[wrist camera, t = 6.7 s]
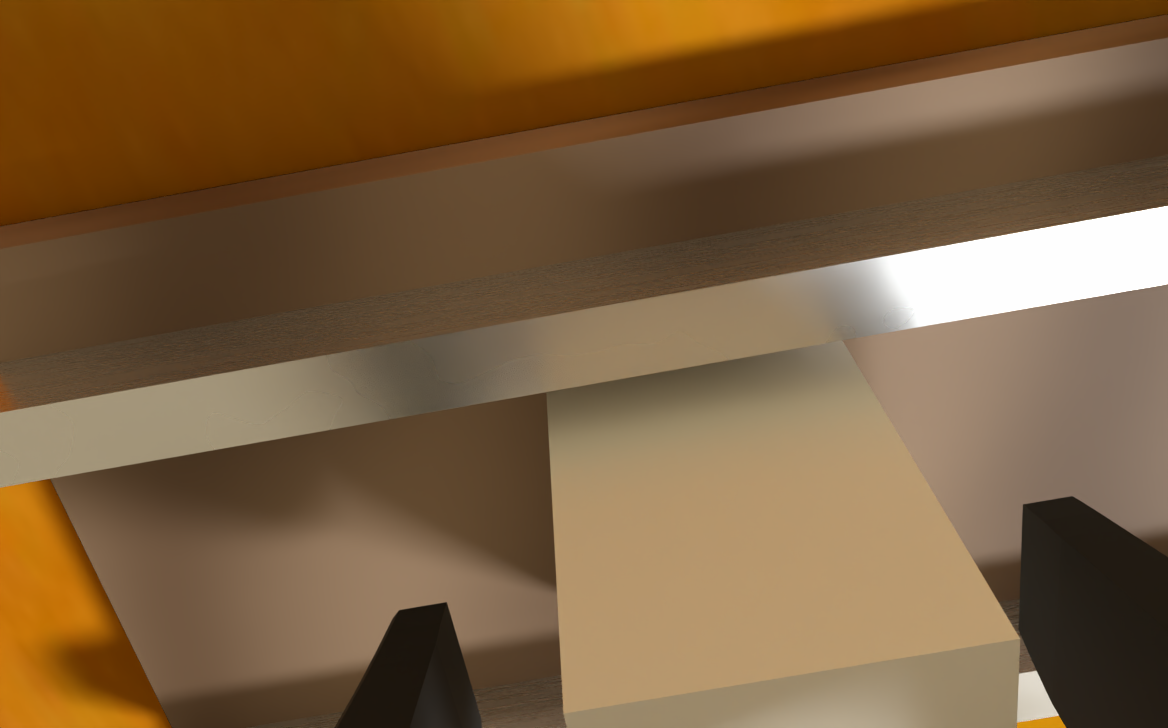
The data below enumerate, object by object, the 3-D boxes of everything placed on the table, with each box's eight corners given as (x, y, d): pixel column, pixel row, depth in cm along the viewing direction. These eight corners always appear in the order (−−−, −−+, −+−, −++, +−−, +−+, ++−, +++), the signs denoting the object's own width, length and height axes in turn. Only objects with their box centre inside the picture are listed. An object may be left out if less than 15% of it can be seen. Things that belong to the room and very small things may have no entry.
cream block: (836, 330, 15) (1019, 637, 9) (849, 561, 16) (1009, 926, 11) (545, 380, 15) (563, 712, 9) (592, 604, 17) (628, 985, 11)
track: (1342, -18, 14) (1501, 18, 12) (1238, 628, 19) (1333, 738, 17) (-22, 230, 14) (-121, 310, 12) (240, 793, 19) (205, 921, 17)
